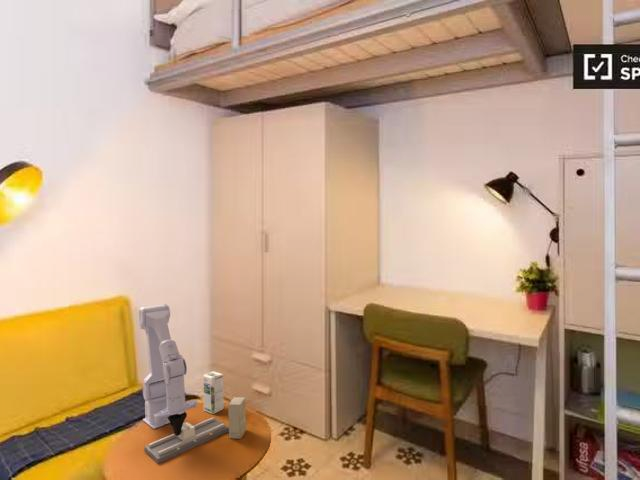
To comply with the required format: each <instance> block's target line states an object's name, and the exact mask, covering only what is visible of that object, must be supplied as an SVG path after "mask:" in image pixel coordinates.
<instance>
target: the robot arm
mask: <svg viewBox="0 0 640 480" xmlns="http://www.w3.org/2000/svg"><path fill="white" fill-rule="evenodd" d="M170 317H171V310H170V307H169V305H168V304H167V303H164V304H159V305H158V304H157V305H152V306H145V307H143V306H142V307H140V308H139V311H138V320H139V321H138V322H139V327H140V329H141V330H144V331H145V336H146V342H147V353H148V364H149V365H148V366H149V374H148V375H147V376H146V377H145V378H144V379H143V381H142V395H143V399H144V401H145V402H144V410H145V411H144V415H145V418H143V419H142V421H143V422H144V423H146V424H147V425H148V426H149V427H150V428H152V429H153V430H155V429H158V428H160V427H162V426H165V425H167V424H170V425H171V428H172V431H173V434H175V435H176V436H178V435H180V434H181V429H182V425H183V422H184V423H185V420H186V419H187V415H188V414H187V412H186V410H187V411H188V410H190V409H192V408H198V400H196V399H192V400H189V401H186V395H185V393H186V392H185V375H186V374H187V370H188V367H187V362H186V360H185V358H184V357H183V355H181V354H180V351H179V348H178V345H177V343H176V341H175V340H173V339H171V334H170V328H169V324H168V323H169V322H170Z"/></svg>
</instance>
